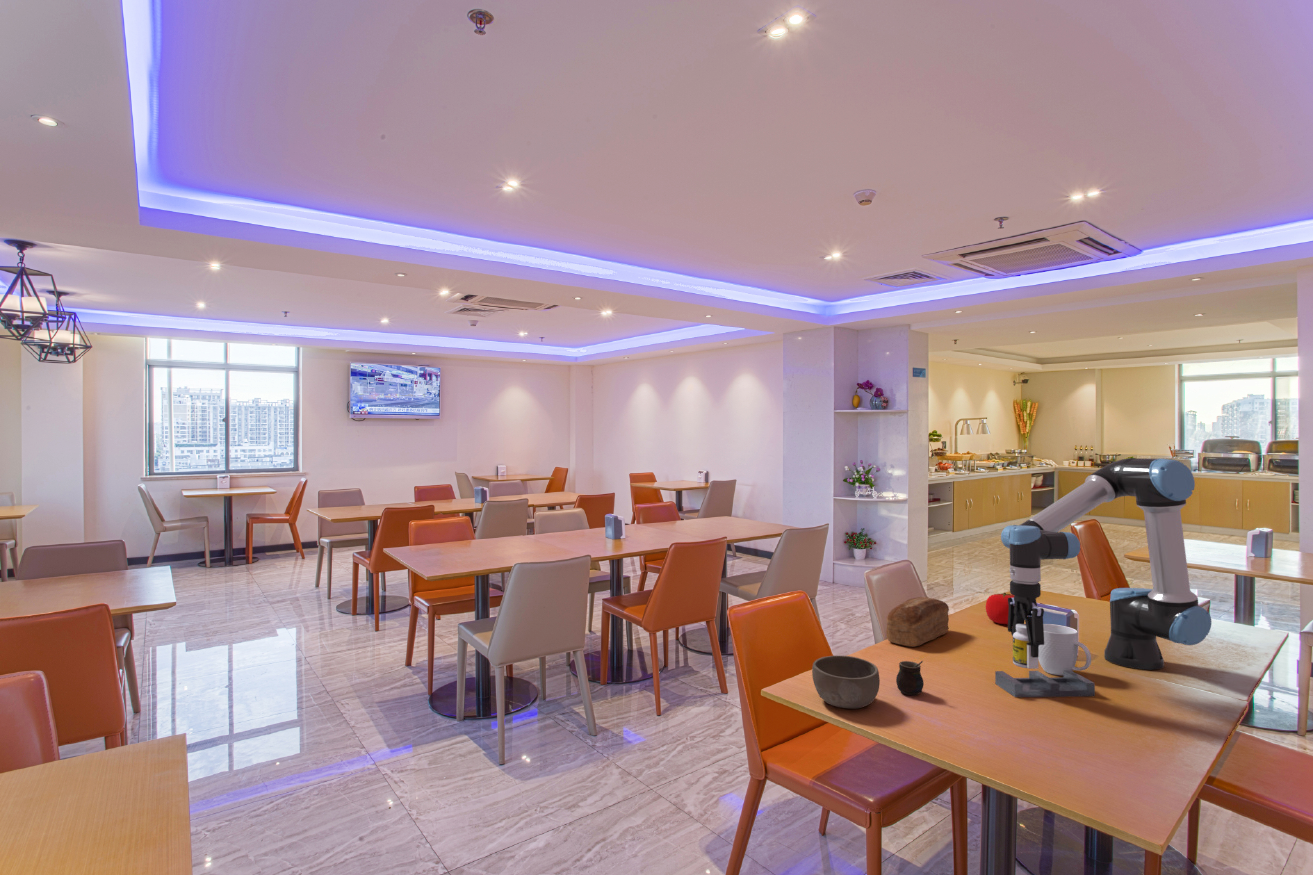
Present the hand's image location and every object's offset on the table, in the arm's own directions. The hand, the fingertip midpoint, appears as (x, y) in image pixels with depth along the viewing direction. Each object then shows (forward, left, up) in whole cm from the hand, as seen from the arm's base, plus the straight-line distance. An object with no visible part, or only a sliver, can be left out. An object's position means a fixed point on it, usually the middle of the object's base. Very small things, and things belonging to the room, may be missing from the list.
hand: (1025, 663), depth 183 cm
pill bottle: (0, 0, -1) cm, 1 cm away
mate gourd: (+33, +1, -8) cm, 34 cm away
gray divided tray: (-5, 0, -7) cm, 9 cm away
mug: (-18, -13, -8) cm, 24 cm away
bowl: (+53, +7, -8) cm, 54 cm away
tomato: (-31, -67, -8) cm, 74 cm away
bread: (+9, -50, -8) cm, 52 cm away
